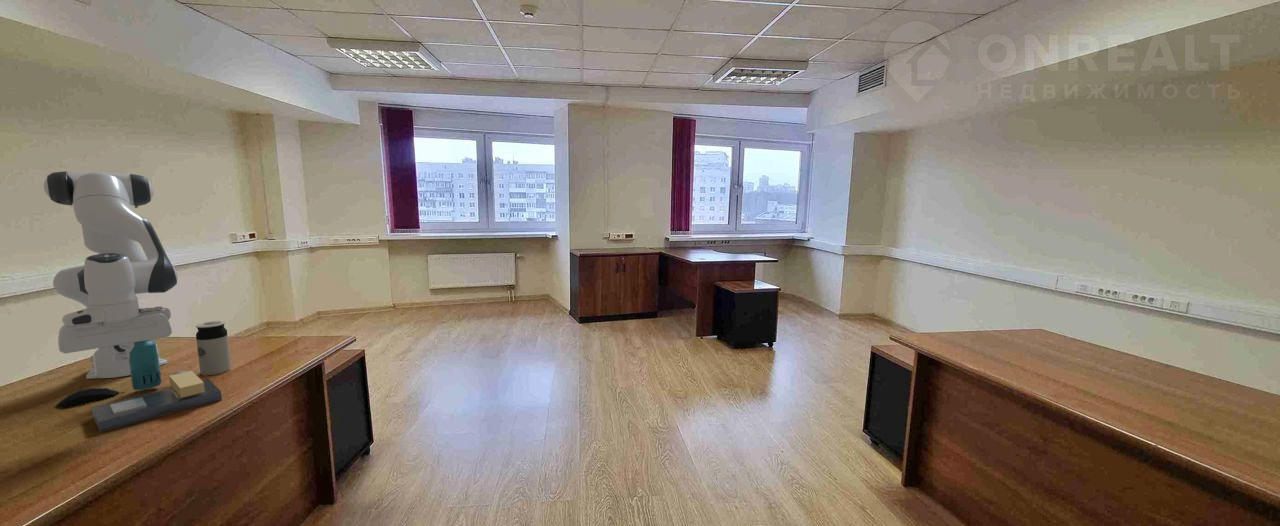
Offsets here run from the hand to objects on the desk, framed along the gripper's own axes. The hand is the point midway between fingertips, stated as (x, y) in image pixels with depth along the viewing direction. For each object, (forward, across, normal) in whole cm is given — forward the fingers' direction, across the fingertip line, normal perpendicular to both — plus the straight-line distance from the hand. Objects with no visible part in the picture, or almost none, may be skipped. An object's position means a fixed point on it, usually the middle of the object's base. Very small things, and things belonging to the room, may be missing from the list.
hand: (121, 359), depth 121 cm
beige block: (+13, -12, -2) cm, 18 cm away
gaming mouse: (+18, +4, -24) cm, 30 cm away
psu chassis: (+17, -6, -1) cm, 18 cm away
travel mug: (+17, -23, -24) cm, 37 cm away
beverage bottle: (+17, -6, -20) cm, 27 cm away
